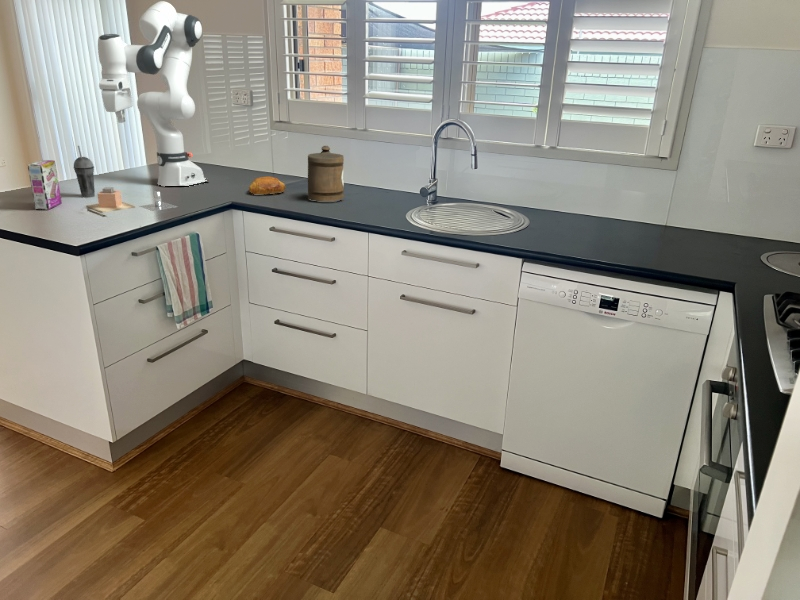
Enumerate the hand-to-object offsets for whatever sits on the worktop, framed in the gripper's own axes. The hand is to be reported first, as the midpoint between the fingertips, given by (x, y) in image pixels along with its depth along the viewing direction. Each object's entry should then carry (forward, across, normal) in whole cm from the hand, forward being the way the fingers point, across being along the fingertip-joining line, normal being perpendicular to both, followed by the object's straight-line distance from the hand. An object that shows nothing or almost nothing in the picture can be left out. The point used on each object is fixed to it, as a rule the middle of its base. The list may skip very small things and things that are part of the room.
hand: (122, 122), depth 221 cm
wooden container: (+31, -10, +75) cm, 81 cm away
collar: (+28, +16, -3) cm, 32 cm away
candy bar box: (+30, +10, -27) cm, 42 cm away
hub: (+30, +16, -3) cm, 34 cm away
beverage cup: (+30, -8, -20) cm, 37 cm away
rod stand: (+30, +14, +13) cm, 35 cm away
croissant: (+31, -21, +49) cm, 62 cm away
